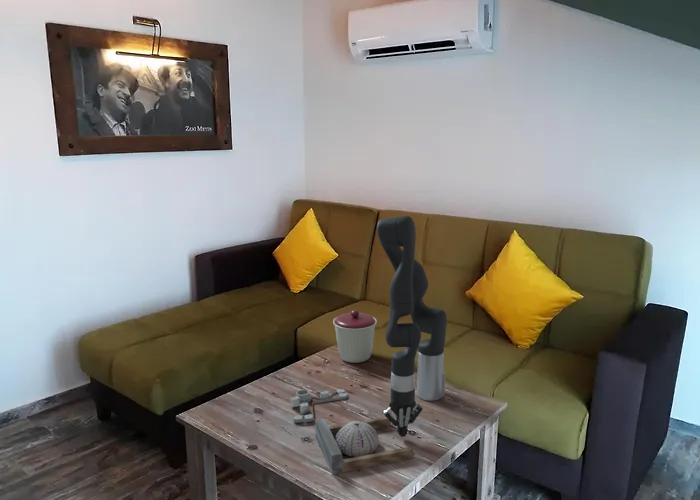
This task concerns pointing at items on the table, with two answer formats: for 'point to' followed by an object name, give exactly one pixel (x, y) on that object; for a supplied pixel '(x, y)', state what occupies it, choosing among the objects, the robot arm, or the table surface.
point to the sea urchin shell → (357, 439)
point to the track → (338, 465)
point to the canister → (355, 336)
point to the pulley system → (305, 397)
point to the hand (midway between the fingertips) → (402, 435)
